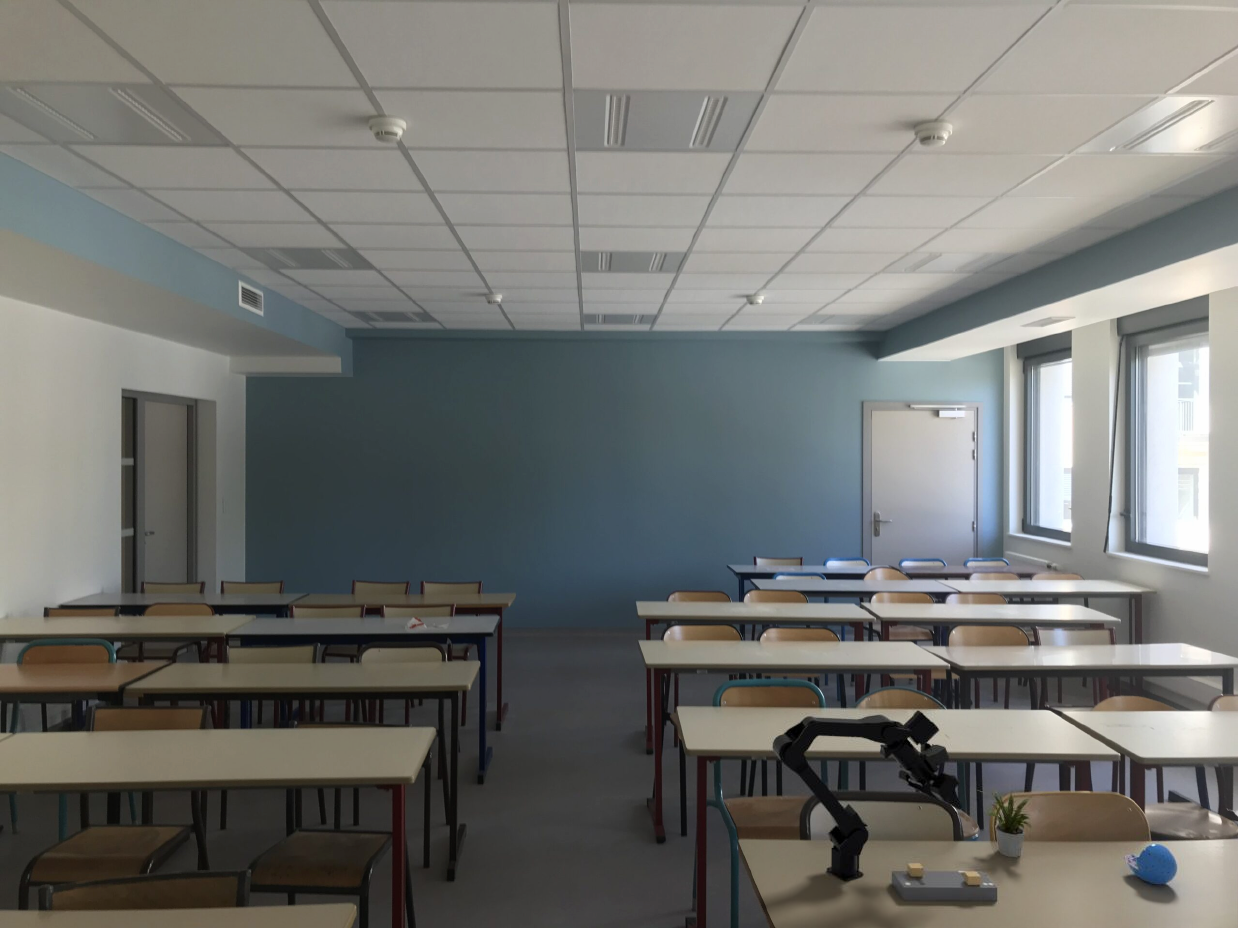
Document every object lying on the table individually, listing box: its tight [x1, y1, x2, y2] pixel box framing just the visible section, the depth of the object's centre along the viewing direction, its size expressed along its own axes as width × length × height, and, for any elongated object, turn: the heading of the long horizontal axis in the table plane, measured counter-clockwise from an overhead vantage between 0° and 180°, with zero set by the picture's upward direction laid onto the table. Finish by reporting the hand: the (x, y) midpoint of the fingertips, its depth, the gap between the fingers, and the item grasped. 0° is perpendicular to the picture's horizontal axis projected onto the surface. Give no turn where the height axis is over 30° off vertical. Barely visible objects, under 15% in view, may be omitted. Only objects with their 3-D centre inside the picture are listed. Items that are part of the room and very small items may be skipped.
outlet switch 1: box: [906, 862, 924, 877], centre depth 195 cm, size 3×2×2 cm
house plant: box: [976, 789, 1033, 858], centre depth 214 cm, size 14×14×16 cm
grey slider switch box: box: [891, 870, 998, 902], centre depth 193 cm, size 22×8×3 cm, turn 91°
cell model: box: [1123, 843, 1178, 885], centre depth 200 cm, size 10×12×10 cm
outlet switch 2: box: [963, 870, 981, 885], centre depth 191 cm, size 3×2×2 cm
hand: (949, 803), depth 204 cm, fingers open, 9 cm apart
